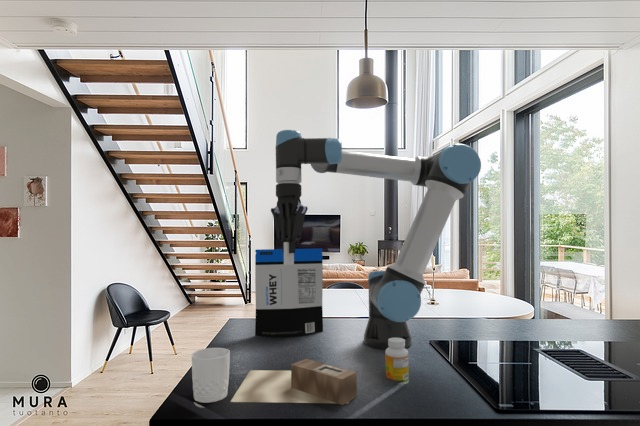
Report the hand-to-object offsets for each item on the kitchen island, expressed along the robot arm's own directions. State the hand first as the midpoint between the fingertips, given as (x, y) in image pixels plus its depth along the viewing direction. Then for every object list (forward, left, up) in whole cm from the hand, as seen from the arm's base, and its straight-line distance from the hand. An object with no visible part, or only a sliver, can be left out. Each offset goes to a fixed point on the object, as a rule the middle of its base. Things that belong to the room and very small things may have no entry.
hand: (288, 264), depth 110 cm
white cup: (+13, +29, -27) cm, 41 cm away
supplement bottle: (-28, +17, -27) cm, 42 cm away
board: (-4, +23, -26) cm, 35 cm away
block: (-5, +23, -23) cm, 32 cm away
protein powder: (+3, -26, -27) cm, 37 cm away
